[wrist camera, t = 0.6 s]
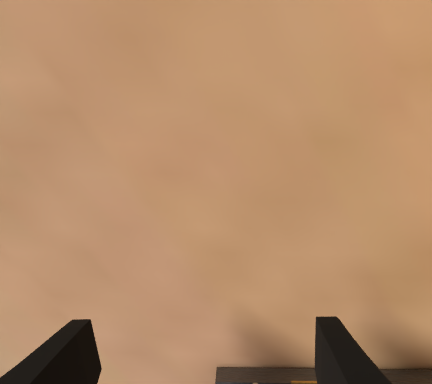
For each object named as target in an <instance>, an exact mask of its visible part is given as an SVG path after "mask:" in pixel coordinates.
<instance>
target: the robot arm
mask: <svg viewBox="0 0 432 384" xmlns="http://www.w3.org/2000/svg"><path fill="white" fill-rule="evenodd" d="M101 369H102V368H101V364H100V359H99V355H98V350H97V346H96V341H95V337H94V332H93V328H92V324H91V319H83V320H72V321H70V322H69V323H68V324H66V325H65V326H64V327H63V328H61V329H60V330H59V331H58V332H56V333H55V334H54V335H53V336H52V337H50V338H49V339H48V340H47V341H46V342H44V343H43V344H42V345H41V346H40V347H38V348H37V349H36V350H35V351H33V352H32V353H31V354H30V355H29V356H27V357H26V358H25V359H24V360H22V361H21V362H20V363H19V364H18V365H16V366H15V367H14V368H12V369H11V370H10V371H8V372H7V373H6V374H4V375H3V376H2V377H1V378H0V384H97V383H98V379H99V376H100V372H101ZM315 373H316V379H317V384H392V383H391V382H390V381H389V379H388V378H387V377H386V376H385V375H384V374H383V373H382V372H381V371H380V370H379V368H378V367H377V366H376V365H375V364H374V363H373V361H372V360H371V359H370V358H369V357H368V356H367V355H366V353H365V352H364V351H363V350H362V348H361V347H360V346H359V345H358V343H357V342H356V341H355V340H354V338H353V337H352V336H351V334H350V333H349V332H348V331H347V329H346V328H345V326H344V325H343V324H342V322H341V321H340V320H339V319H338V318H337V317H316V337H315Z"/></svg>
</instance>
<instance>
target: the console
mask: <svg viewBox="0 0 432 384" xmlns="http://www.w3.org/2000/svg"><path fill="white" fill-rule="evenodd" d="M379 370H380V371H381V372H382V373H383V374H384V375H385V376H386V377H387V378H388V379H389V381H390V382H391V383H392V384H432V370H401V369H379ZM215 383H216V384H317V379H316V373H315V368H233V367H217V371H216V382H215Z"/></svg>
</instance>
